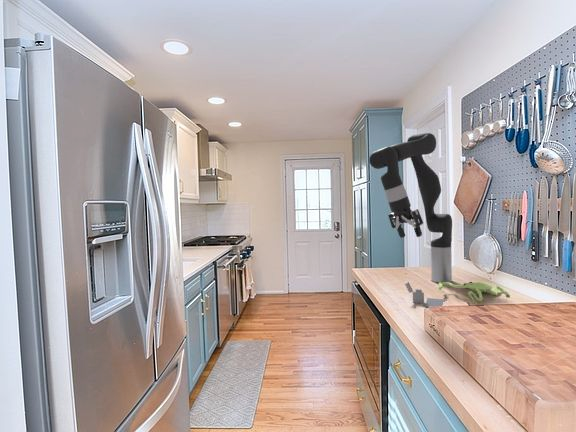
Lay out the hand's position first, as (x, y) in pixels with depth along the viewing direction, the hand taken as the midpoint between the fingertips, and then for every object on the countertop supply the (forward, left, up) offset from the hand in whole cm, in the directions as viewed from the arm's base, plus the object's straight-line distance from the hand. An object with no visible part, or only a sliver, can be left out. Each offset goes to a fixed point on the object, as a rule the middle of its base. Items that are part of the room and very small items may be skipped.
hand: (411, 236), depth 130 cm
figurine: (-21, +22, -27) cm, 41 cm away
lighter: (-3, 0, -27) cm, 27 cm away
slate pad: (-3, +12, -27) cm, 30 cm away
